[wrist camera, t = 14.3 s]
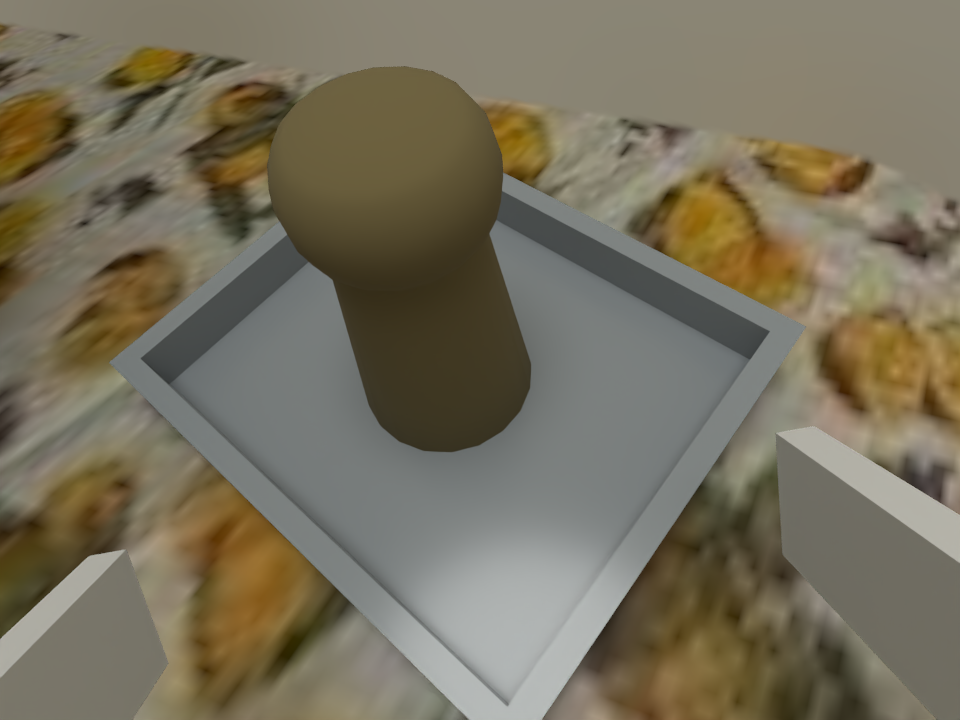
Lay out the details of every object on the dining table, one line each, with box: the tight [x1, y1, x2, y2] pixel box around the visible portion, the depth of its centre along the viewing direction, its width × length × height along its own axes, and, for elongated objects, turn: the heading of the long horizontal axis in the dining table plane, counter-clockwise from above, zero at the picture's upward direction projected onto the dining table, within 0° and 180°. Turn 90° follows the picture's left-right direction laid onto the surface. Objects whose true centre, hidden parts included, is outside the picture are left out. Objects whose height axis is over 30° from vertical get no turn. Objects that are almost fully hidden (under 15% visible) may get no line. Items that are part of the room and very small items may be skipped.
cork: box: [267, 66, 531, 452], centre depth 17 cm, size 6×6×11 cm
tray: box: [109, 173, 806, 720], centre depth 21 cm, size 18×15×2 cm
